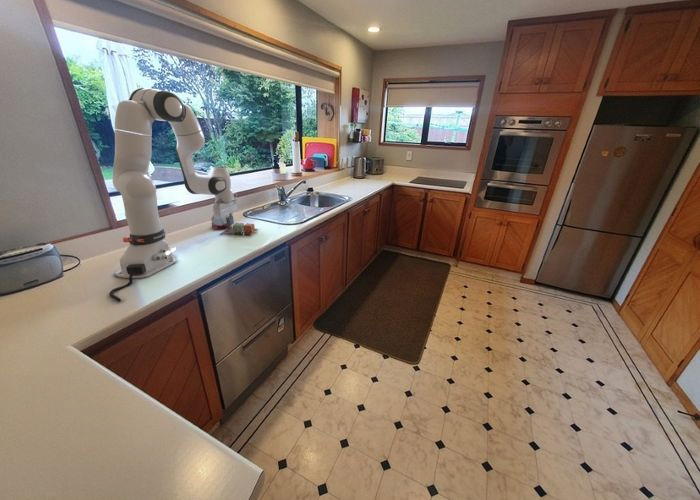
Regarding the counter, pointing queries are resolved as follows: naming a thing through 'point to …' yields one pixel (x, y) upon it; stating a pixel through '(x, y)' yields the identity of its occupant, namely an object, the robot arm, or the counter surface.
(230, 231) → the word board
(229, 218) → the letter T
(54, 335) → the counter surface
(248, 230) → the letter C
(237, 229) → the letter A
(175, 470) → the counter surface
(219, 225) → the canned food
